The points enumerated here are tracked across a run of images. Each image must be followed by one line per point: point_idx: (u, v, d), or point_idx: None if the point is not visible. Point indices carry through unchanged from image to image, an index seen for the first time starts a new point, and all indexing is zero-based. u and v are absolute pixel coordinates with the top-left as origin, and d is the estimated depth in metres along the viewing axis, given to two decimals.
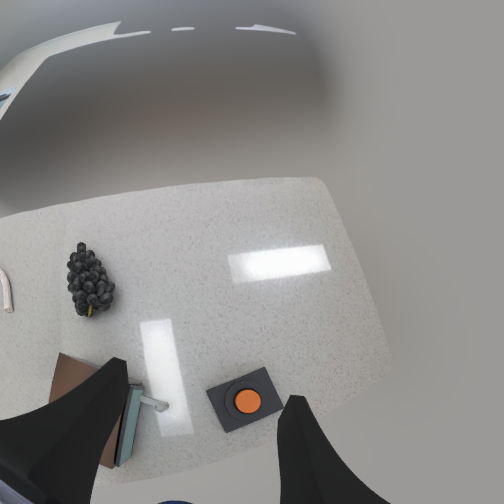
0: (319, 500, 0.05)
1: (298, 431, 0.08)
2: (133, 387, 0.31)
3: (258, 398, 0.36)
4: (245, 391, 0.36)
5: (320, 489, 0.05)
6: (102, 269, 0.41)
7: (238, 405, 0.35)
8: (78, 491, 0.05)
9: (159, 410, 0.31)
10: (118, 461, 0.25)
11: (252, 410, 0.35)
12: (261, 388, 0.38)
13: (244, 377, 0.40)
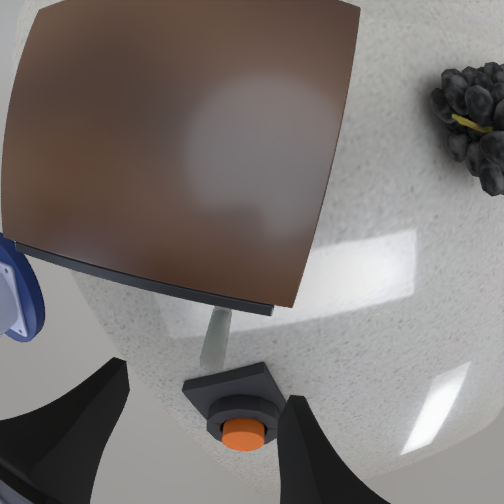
0: (319, 499, 0.05)
1: (298, 431, 0.08)
2: None
3: (248, 449, 0.20)
4: (261, 440, 0.19)
5: (320, 489, 0.05)
6: None
7: (235, 433, 0.19)
8: (78, 491, 0.05)
9: (203, 365, 0.13)
10: (26, 252, 0.10)
11: (226, 444, 0.20)
12: (264, 442, 0.21)
13: None
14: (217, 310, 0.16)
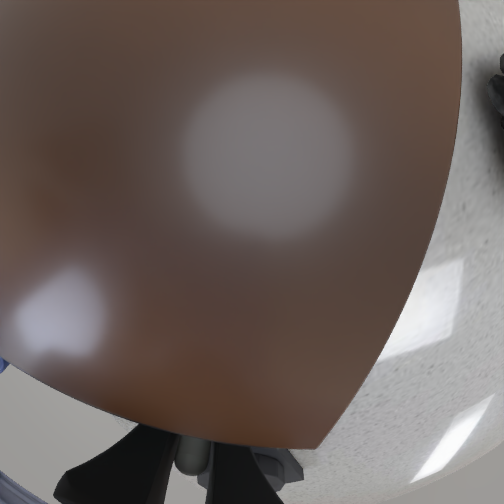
0: (212, 495, 0.05)
1: None
2: None
3: None
4: None
5: (216, 484, 0.05)
6: None
7: None
8: None
9: (180, 469, 0.07)
10: None
11: None
12: None
13: (289, 468, 0.17)
14: None
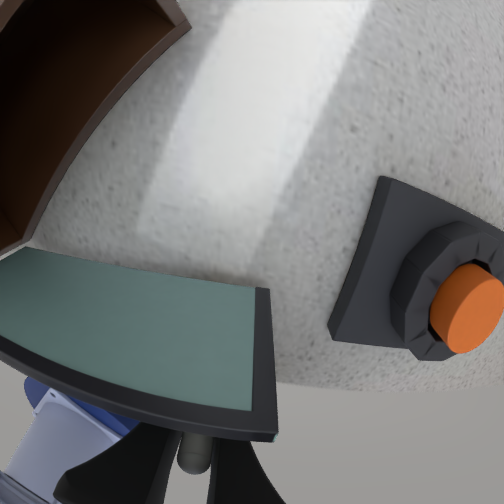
0: (214, 495, 0.05)
1: None
2: None
3: (494, 325, 0.08)
4: (498, 285, 0.08)
5: (218, 485, 0.05)
6: None
7: (459, 315, 0.08)
8: None
9: (182, 468, 0.07)
10: None
11: (462, 348, 0.09)
12: None
13: (485, 227, 0.10)
14: None
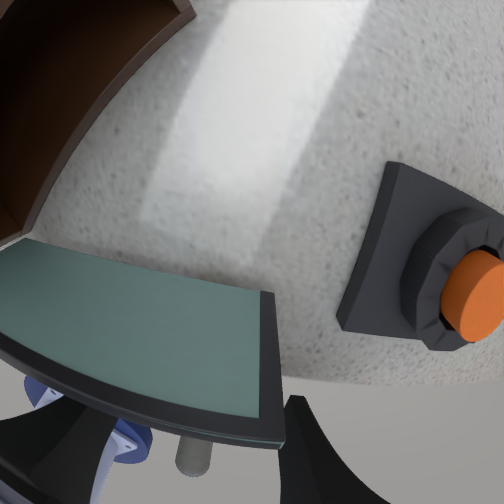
0: (319, 500, 0.05)
1: (298, 431, 0.08)
2: None
3: None
4: None
5: (320, 489, 0.05)
6: None
7: (471, 301, 0.08)
8: (78, 491, 0.05)
9: (181, 470, 0.07)
10: None
11: (474, 336, 0.08)
12: None
13: (493, 215, 0.10)
14: None
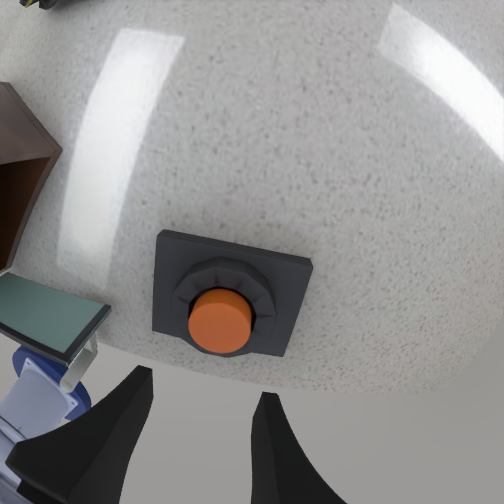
0: (278, 501, 0.05)
1: (266, 429, 0.08)
2: None
3: (244, 337, 0.16)
4: (227, 308, 0.15)
5: (280, 490, 0.05)
6: None
7: (192, 324, 0.15)
8: None
9: (61, 388, 0.15)
10: None
11: (214, 349, 0.16)
12: (269, 313, 0.16)
13: (255, 258, 0.17)
14: (83, 349, 0.18)
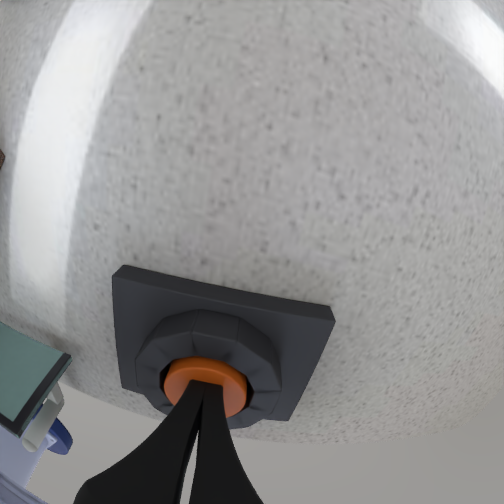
0: None
1: (201, 419, 0.08)
2: (19, 433, 0.07)
3: (238, 405, 0.11)
4: (213, 374, 0.10)
5: (195, 481, 0.05)
6: None
7: (168, 388, 0.11)
8: None
9: None
10: None
11: None
12: (272, 388, 0.11)
13: (252, 313, 0.11)
14: (47, 399, 0.13)
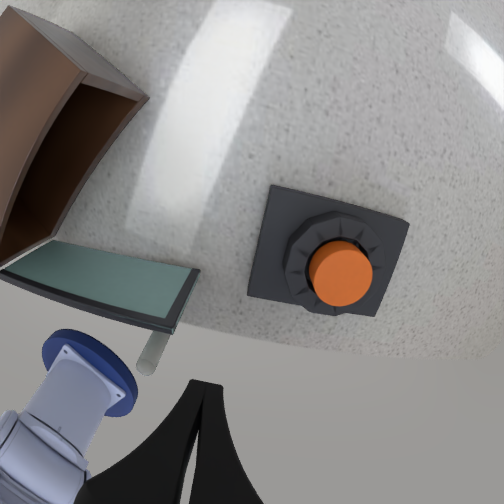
0: (191, 491, 0.05)
1: (201, 419, 0.08)
2: None
3: (365, 286, 0.15)
4: (356, 255, 0.15)
5: (195, 481, 0.05)
6: None
7: (319, 274, 0.15)
8: None
9: (138, 370, 0.14)
10: (5, 280, 0.12)
11: (335, 302, 0.16)
12: (381, 264, 0.16)
13: (365, 214, 0.17)
14: None
